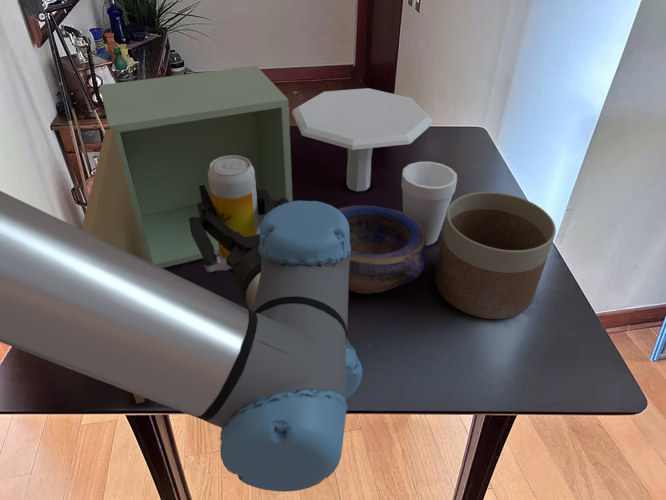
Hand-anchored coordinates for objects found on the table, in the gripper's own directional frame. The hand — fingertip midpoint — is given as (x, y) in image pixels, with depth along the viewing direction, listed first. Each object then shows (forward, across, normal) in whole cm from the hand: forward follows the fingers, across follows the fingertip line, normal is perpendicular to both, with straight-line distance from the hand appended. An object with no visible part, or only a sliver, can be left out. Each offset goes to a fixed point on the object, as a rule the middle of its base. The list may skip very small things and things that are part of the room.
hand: (226, 188), depth 75 cm
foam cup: (0, +35, -18) cm, 39 cm away
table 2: (+21, +32, -18) cm, 42 cm away
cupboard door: (-5, -19, -18) cm, 26 cm away
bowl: (-7, +20, -18) cm, 28 cm away
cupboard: (+17, 0, -18) cm, 25 cm away
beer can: (-5, 0, -9) cm, 10 cm away
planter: (-17, +37, -18) cm, 44 cm away
